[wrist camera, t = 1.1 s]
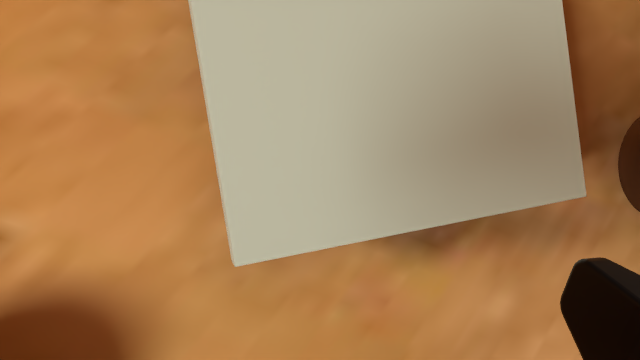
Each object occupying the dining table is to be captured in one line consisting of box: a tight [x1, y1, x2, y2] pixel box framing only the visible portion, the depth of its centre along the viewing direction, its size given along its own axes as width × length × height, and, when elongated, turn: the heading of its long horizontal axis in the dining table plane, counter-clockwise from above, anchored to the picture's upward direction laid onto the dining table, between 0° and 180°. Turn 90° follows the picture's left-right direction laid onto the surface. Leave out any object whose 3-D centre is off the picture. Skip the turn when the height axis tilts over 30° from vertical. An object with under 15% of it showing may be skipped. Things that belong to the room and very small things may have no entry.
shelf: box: [188, 0, 586, 267], centre depth 23 cm, size 12×14×4 cm
